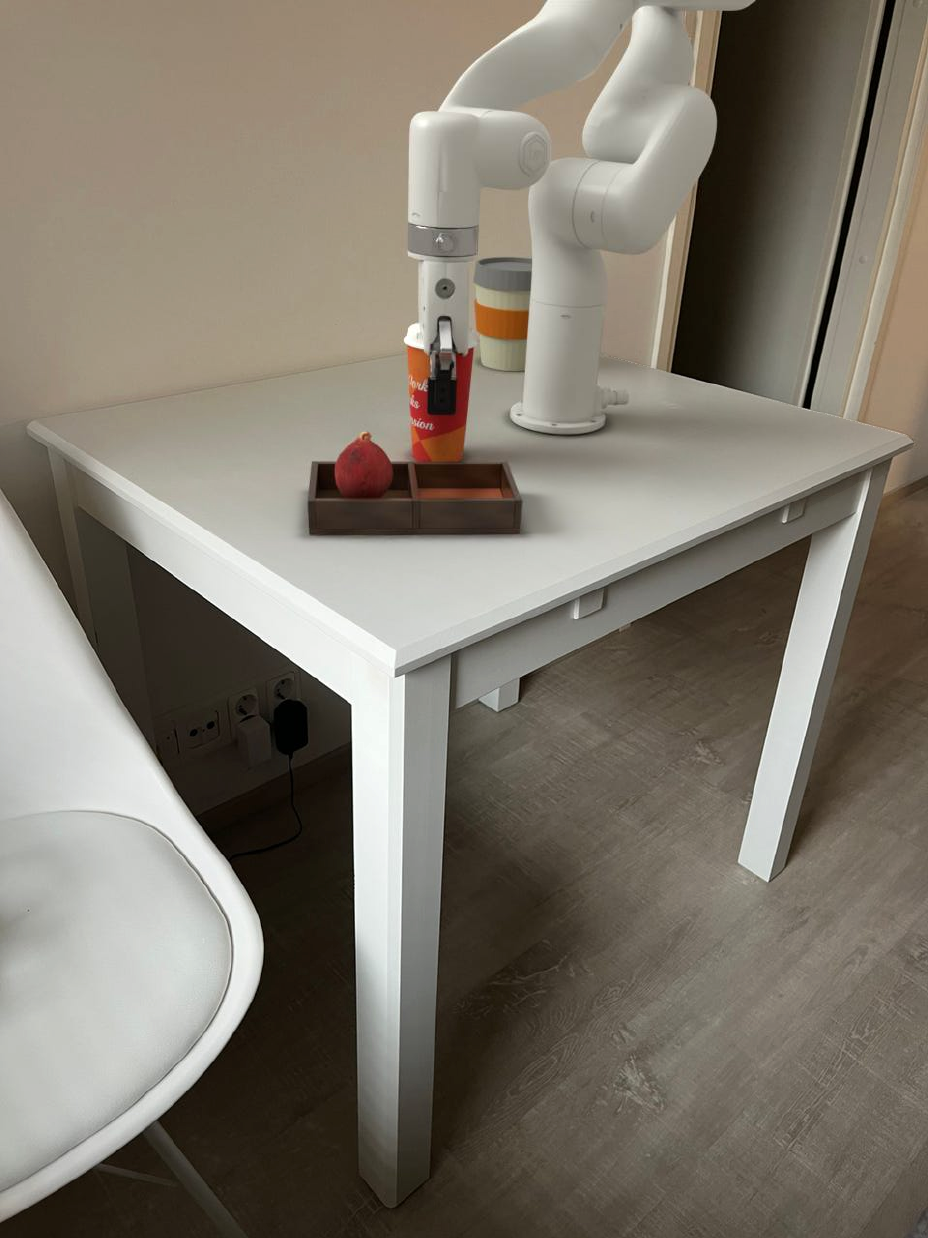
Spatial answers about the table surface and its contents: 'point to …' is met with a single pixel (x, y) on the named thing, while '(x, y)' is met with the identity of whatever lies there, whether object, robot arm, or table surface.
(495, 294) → the reusable coffee cup
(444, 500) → the organizer
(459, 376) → the coffee cup
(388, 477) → the red round fruit
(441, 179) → the robot arm
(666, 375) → the table surface
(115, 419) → the table surface
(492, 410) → the table surface
